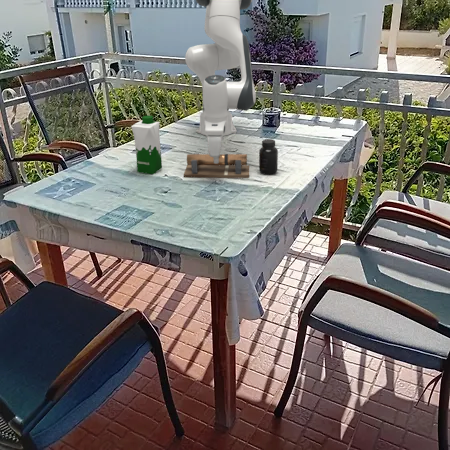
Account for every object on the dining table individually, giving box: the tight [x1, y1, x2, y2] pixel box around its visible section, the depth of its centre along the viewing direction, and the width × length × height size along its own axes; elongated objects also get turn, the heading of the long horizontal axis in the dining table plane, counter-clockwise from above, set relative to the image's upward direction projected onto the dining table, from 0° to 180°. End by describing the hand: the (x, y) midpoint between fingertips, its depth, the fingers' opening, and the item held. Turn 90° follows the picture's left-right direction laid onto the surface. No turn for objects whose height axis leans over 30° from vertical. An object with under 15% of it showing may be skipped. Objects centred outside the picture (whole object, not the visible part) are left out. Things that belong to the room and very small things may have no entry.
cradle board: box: [183, 164, 251, 179], centre depth 178 cm, size 10×24×1 cm, turn 87°
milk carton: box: [130, 115, 163, 175], centre depth 177 cm, size 9×9×20 cm
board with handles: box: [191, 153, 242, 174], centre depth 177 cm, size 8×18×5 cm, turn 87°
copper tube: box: [186, 153, 248, 166], centre depth 176 cm, size 22×4×4 cm, turn 87°
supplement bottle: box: [258, 138, 279, 176], centre depth 176 cm, size 7×7×12 cm
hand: (216, 160), depth 177 cm, fingers open, 4 cm apart
